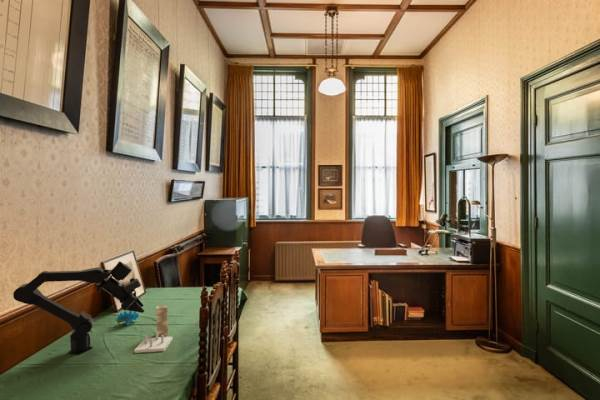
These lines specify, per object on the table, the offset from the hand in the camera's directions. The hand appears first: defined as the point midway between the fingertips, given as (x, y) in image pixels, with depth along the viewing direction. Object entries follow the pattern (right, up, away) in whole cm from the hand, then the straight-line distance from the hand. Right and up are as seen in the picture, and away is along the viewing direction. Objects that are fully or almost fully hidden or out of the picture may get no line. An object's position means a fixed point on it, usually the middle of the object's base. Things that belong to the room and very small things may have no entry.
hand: (143, 309), depth 156 cm
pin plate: (+9, -13, -8) cm, 18 cm away
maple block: (+7, -13, +4) cm, 15 cm away
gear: (-17, -14, +19) cm, 29 cm away
